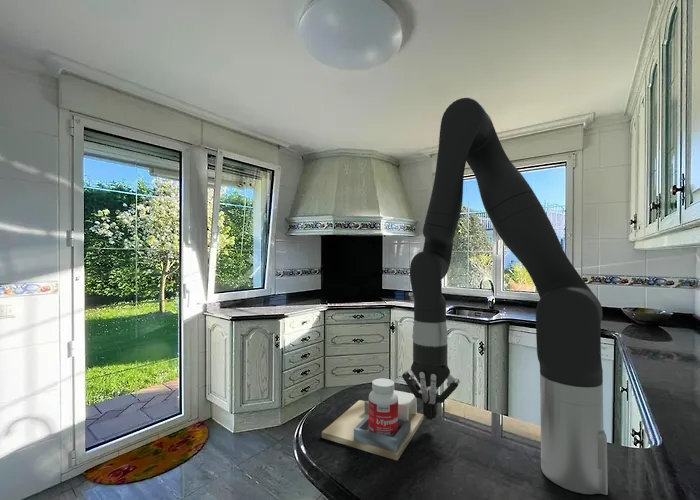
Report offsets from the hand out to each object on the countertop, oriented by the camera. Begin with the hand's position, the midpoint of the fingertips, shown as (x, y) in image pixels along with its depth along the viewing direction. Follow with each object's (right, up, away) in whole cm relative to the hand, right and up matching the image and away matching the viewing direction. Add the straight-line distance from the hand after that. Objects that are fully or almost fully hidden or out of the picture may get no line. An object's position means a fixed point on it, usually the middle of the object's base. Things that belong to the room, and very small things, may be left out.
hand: (430, 418), depth 74 cm
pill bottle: (-11, -2, -5) cm, 12 cm away
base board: (-12, -3, +1) cm, 12 cm away
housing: (-7, -1, +4) cm, 8 cm away
